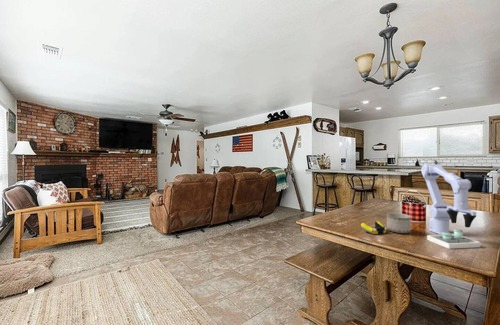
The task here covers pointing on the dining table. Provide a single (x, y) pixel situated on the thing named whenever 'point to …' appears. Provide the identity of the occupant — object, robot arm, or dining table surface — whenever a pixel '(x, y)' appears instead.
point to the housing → (453, 241)
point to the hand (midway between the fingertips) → (460, 225)
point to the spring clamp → (376, 230)
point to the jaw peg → (458, 234)
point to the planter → (398, 222)
